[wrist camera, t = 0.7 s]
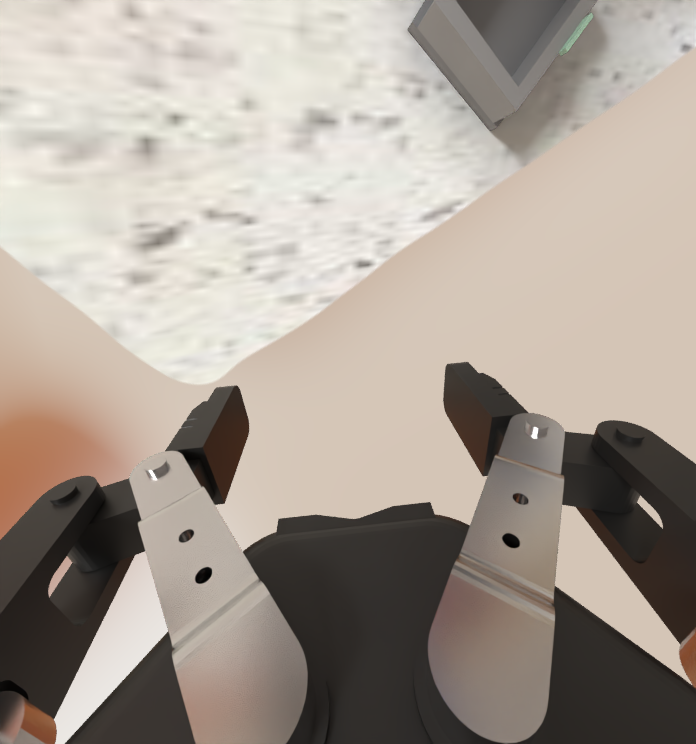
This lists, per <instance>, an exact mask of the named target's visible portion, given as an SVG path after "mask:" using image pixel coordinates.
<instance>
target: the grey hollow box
mask: <svg viewBox="0 0 696 744" xmlns="http://www.w3.org/2000/svg"><path fill="white" fill-rule="evenodd" d="M597 1H598V0H425V2H424V3H423V5H422V7H421V8H420V10H419V12H418V13H417V15H416V16H415V18H414V20H413V21H412V23H411V25H410V26H409V28H408V31H409V32H410V33H411V34H412V36H413V37H414V38H415V39H416V40H417V42H418V43H419V44H420V45H421V47H422V48H423V49H424V50H425V52H426V53H427V54H428V55H429V56H430V58H431V59H432V60H433V61H434V63H435V64H436V65H437V66H438V68H439V69H440V70H441V71H442V72H443V74H444V75H445V76H446V77H447V79H448V80H449V81H450V82H451V83H452V85H453V86H454V87H455V88H456V90H457V91H458V92H459V93H460V95H461V96H462V97H463V98H464V99H465V101H466V102H467V103H468V104H469V106H470V107H471V108H472V109H473V111H474V112H475V113H476V114H477V115H478V117H479V118H480V119H481V120H482V122H483V123H484V124H485V125H486V127H487V128H488V129H489V130H490V131H491V130H493V129H495V128H497V127H498V126H499V124H500V123H501V121H502V120H503V119H504V117H506V116H508V115H510V114H512V113H514V112H516V111H517V110H518V109H519V107H520V106H521V105H522V103H523V102H524V101H525V99H526V98H527V96H528V95H529V94H530V92H531V91H532V90H533V88H534V87H535V85H536V84H537V83H538V81H539V80H540V79H541V77H542V76H543V75H544V73H545V72H546V70H547V69H548V68H549V66H550V65H551V64H552V62H553V61H554V59H555V58H556V57H557V55H558V54H560V55H561V56H562V55H563V54H565V53H567V52H568V51H569V49H570V48H571V47H572V45H573V44H574V43H575V41H576V40H577V38H578V37H579V36H580V34H581V33H582V32H583V30H584V29H585V28H586V26H587V25H588V23H589V22H590V21H591V19H592V18H593V17H594V16H593V14H592V12H591V13H590V14H589V15H587V14H588V13H589V11H590V10H591V9H592V7H593V6H594V5H595V3H596V2H597Z"/></svg>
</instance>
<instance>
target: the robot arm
mask: <svg viewBox="0 0 696 744" xmlns="http://www.w3.org/2000/svg"><path fill="white" fill-rule="evenodd" d="M443 401H444V408H445V412H446V414H447V416H448V417H449V419H450V421H451V423H452V424H453V426H454V428H455V430H456V431H457V433H458V435H459V436H460V438H461V440H462V441H463V443H464V445H465V447H466V448H467V450H468V452H469V453H470V455H471V457H472V459H473V460H474V462H475V464H476V465H477V467H478V469H479V471H480V472H481V474H482V476H488V477H487V479H486V482H485V485H484V488H483V491H482V494H481V496H480V499H479V502H478V505H477V508H476V510H475V513H474V516H473V519H472V522H471V524H470V526H469V525H467V524H465V523H463V522H461V521H459V520H456V519H452V518H450V517H445V516H441V515H435V514H434V512H433V509H432V506H431V503H430V502H428V503H418V504H409V505H400V506H392V507H390V508H387V509H384V510H381V511H379V512H375V513H373V514H370V515H367V516H364V517H361V518H358V519H347V518H338V517H329V516H322V515H310V516H300V517H292V518H282V519H279V520H278V526H277V532H276V533H273V534H270V535H268V536H266V537H264V538H262V539H260V540H259V541H257V542H255V543H254V544H252V545H251V546H250V547H248V548H247V549H245V550H244V551H243V552H242V550H241V548H240V547H239V545H238V543H237V541H236V540H235V538H234V536H233V535H232V533H231V531H230V530H229V528H228V526H227V525H226V523H225V521H224V520H223V518H222V516H221V515H220V513H219V511H218V510H217V508H216V506H215V505H217V504H224V503H225V501H226V498H227V495H228V492H229V489H230V486H231V483H232V480H233V478H234V475H235V472H236V469H237V466H238V463H239V460H240V457H241V455H242V452H243V449H244V446H245V443H246V440H247V437H248V433H249V420H248V416H247V413H246V409H245V406H244V403H243V399H242V395H241V392H240V389H239V387H238V386H227V387H217V388H216V389H215V390H214V392H213V393H212V395H211V396H210V398H209V400H208V401H205V402H202V403H201V404H200V405H198V406H197V407H196V408H195V409H193V410H192V412H191V413H190V415H189V416H188V418H187V421H185V422H184V423H183V425H182V428H181V429H179V431H178V433H177V434H176V435H175V437H174V438H173V440H172V441H171V443H170V445H169V446H168V447H167V449H166V450H165V452H161V453H158V454H155V455H153V456H151V457H149V458H147V459H145V460H144V461H142V462H141V463H140V464H138V465H137V466H136V467H135V468H134V469H133V471H132V472H131V474H130V477H129V479H126V480H123V481H120V482H117V483H113V484H110V485H107V486H104V487H100V485H99V483H98V482H97V480H96V479H95V478H94V477H91V476H81V477H76V478H73V479H70V480H67V481H65V482H63V483H61V484H59V485H57V486H55V487H53V488H52V489H51V490H49V491H47V492H46V493H45V494H44V495H42V496H41V497H40V498H39V499H38V500H37V501H36V502H35V503H34V504H33V505H32V507H31V508H30V509H29V510H28V511H27V512H26V513H25V514H24V515H23V516H22V517H21V518H20V519H19V521H18V522H17V523H16V524H15V525H14V526H13V527H12V528H11V529H10V530H9V532H8V533H7V534H6V535H5V536H4V537H3V538H2V539H1V540H0V744H55V742H56V734H57V730H56V724H55V721H54V718H55V716H56V714H57V712H58V710H59V708H60V706H61V704H62V702H63V700H64V698H65V696H66V694H67V692H68V690H69V688H70V686H71V684H72V681H73V680H74V678H75V676H76V673H77V672H78V670H79V667H80V665H81V663H82V661H83V659H84V657H85V655H86V653H87V651H88V649H89V647H90V645H91V643H92V641H93V639H94V637H95V635H96V633H97V631H98V629H99V627H100V625H101V623H102V621H103V619H104V617H105V615H106V613H107V611H108V609H109V607H110V605H111V603H112V601H113V599H114V597H115V595H116V593H117V591H118V588H119V587H120V584H121V582H122V581H123V578H124V576H125V574H126V572H127V570H128V568H129V566H130V564H131V562H132V560H133V558H134V556H135V555H136V554H139V553H141V552H144V551H146V555H147V558H148V562H149V565H150V569H151V572H152V576H153V579H154V583H155V586H156V590H157V593H158V597H159V600H160V604H161V607H162V610H163V614H164V617H165V621H166V624H167V628H168V632H167V633H166V634H165V636H164V637H163V638H162V639H161V640H160V641H159V642H158V643H157V644H156V645H155V646H154V647H153V649H152V650H151V651H150V652H149V653H148V654H147V655H146V656H145V657H144V658H143V660H142V661H141V662H140V663H139V664H138V665H137V666H136V667H135V668H134V669H133V670H132V672H130V674H129V675H128V676H127V677H126V678H125V679H124V680H123V681H122V682H121V683H120V684H119V686H118V687H117V688H116V689H115V690H114V691H113V692H112V693H111V694H110V695H109V696H108V697H107V699H106V700H105V701H104V702H103V703H102V704H101V705H100V706H99V707H98V708H97V709H96V710H95V712H94V713H93V714H92V715H91V716H90V717H89V718H88V719H87V720H86V721H85V722H84V723H83V725H82V726H81V727H80V728H79V729H78V730H77V731H76V732H75V733H74V735H72V736H71V738H70V739H69V740H68V741H67V742H66V743H65V744H696V464H695V463H694V462H692V461H691V460H690V459H688V458H687V457H685V456H684V455H683V454H682V453H680V452H679V451H677V450H676V449H675V448H673V447H672V446H671V445H669V444H668V443H667V442H665V441H664V440H663V439H661V438H660V437H658V436H657V435H655V434H654V433H653V432H651V431H649V430H647V429H645V428H643V427H641V426H638V425H636V424H632V423H628V422H623V421H614V420H613V421H604V422H601V423H600V424H598V426H597V428H596V431H595V434H594V435H591V434H581V433H571V432H565V431H564V429H563V427H562V426H561V425H560V424H559V423H558V422H556V421H555V420H553V419H551V418H549V417H546V416H543V415H540V414H534V413H528V412H527V411H526V410H525V409H524V408H523V407H522V406H521V405H520V404H519V403H518V402H517V401H516V400H515V399H514V398H513V397H512V396H511V395H509V393H508V392H507V391H506V390H505V389H504V388H502V386H501V385H500V384H499V383H498V382H497V381H496V380H495V379H494V378H492V377H490V376H488V375H486V374H484V373H478V372H477V371H476V370H475V369H474V368H473V367H472V366H471V365H470V364H469V363H468V362H463V363H454V364H447V366H446V370H445V383H444V398H443ZM640 495H641V496H642V497H643V498H644V499H645V500H646V501H647V502H648V503H649V504H650V505H651V506H652V507H653V508H654V509H655V510H656V512H657V513H658V514H659V516H660V518H661V520H662V523H663V529H662V528H661V527H660V526H659V525H658V524H657V523H656V522H655V521H654V520H653V518H652V517H650V515H649V514H648V513H647V512H646V511H645V510H644V509H643V508H642V507H641V506H640V505H639V504H638V503H637V501H638V499H639V497H640ZM562 505H568V506H574V507H576V508H577V509H578V511H579V512H580V513H581V515H582V516H583V517H584V518H585V520H586V521H587V522H588V523H589V525H590V526H591V528H592V529H593V530H594V532H595V533H596V534H597V536H598V537H599V538H600V539H601V541H602V542H603V543H604V545H605V546H606V547H607V548H608V550H609V551H610V552H611V554H612V555H613V557H614V558H615V559H616V561H617V562H618V563H619V564H620V566H621V567H622V568H623V570H624V571H625V572H626V573H627V575H628V576H629V578H630V579H631V580H632V581H633V583H634V584H635V585H636V586H637V588H638V589H639V591H640V592H641V593H642V595H643V596H644V597H645V599H646V600H647V601H648V602H649V604H650V605H651V607H652V608H653V609H654V610H655V612H656V613H657V614H658V615H659V617H660V618H661V620H662V621H663V622H664V624H665V625H666V626H667V627H668V629H669V630H670V631H671V633H672V634H673V635H674V637H675V638H676V639H677V641H678V642H679V643H680V649H679V655H680V660H681V663H682V666H683V668H684V671H685V673H686V675H687V676H688V678H689V680H690V681H691V683H692V685H691V684H689V683H688V682H687V681H686V680H684V679H683V678H682V677H680V676H679V675H678V674H676V673H675V672H673V671H672V670H671V669H669V668H668V667H667V666H665V665H663V664H662V663H661V662H660V661H658V660H657V659H655V658H654V657H653V656H651V655H650V654H649V653H647V652H645V651H644V650H643V649H642V648H640V647H639V646H638V645H636V644H635V643H633V642H632V641H631V640H629V639H628V638H626V637H625V636H624V635H622V634H621V633H619V632H618V631H617V630H615V629H614V628H613V627H611V626H610V625H608V624H607V623H605V622H604V621H603V620H602V619H600V618H599V617H597V616H596V615H594V614H593V613H592V612H590V611H589V610H588V609H586V608H585V607H584V606H582V605H581V604H579V603H578V602H577V601H575V600H574V599H572V598H571V597H570V596H568V595H567V594H565V593H564V592H563V591H561V590H560V589H559V588H557V587H556V586H555V576H556V565H557V564H556V563H557V554H558V542H559V532H560V520H561V510H562ZM66 556H68V557H69V559H70V560H71V561H72V562H73V563H72V564H71V566H70V567H69V569H68V570H67V572H66V573H65V575H64V576H63V578H62V579H61V581H60V582H59V584H58V585H57V587H56V589H55V590H54V592H53V593H52V595H51V596H50V598H49V595H48V588H49V584H50V581H51V579H52V577H53V575H54V573H55V572H56V570H57V569H58V568H59V566H60V565H61V563H62V562H63V560H64V559H65V558H66Z"/></svg>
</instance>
